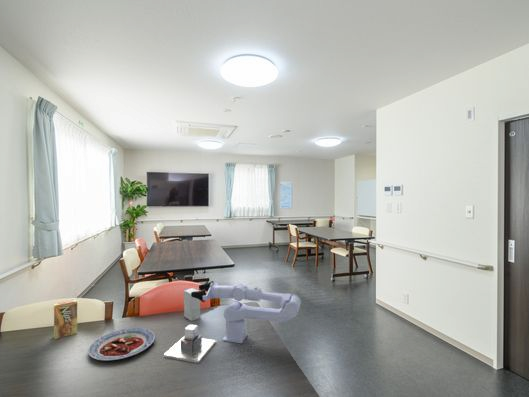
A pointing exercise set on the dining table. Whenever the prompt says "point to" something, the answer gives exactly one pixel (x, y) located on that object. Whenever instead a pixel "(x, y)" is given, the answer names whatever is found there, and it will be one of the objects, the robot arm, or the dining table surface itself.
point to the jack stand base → (190, 349)
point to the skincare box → (191, 305)
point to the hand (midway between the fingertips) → (195, 290)
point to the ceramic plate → (121, 344)
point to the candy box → (65, 319)
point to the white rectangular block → (191, 332)
